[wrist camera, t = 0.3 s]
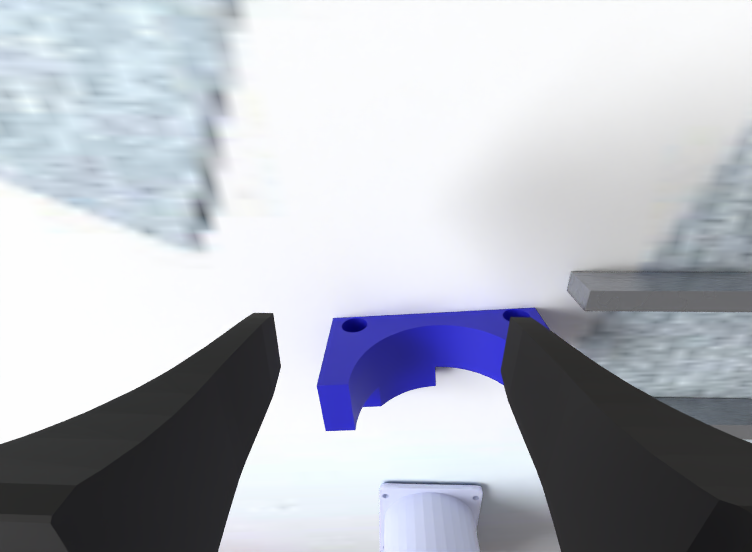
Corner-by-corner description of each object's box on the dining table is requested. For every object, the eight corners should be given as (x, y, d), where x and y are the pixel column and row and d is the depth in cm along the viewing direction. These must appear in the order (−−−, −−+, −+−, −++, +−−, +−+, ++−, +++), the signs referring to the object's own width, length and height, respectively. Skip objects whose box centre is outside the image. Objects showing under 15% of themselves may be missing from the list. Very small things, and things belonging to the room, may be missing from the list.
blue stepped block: (342, 373, 25) (329, 451, 20) (333, 316, 23) (316, 385, 18) (526, 365, 24) (565, 444, 19) (533, 305, 22) (579, 374, 17)
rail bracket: (772, 412, 25) (805, 440, 23) (538, 409, 26) (550, 436, 24) (860, 272, 20) (910, 292, 18) (571, 271, 21) (590, 290, 19)
